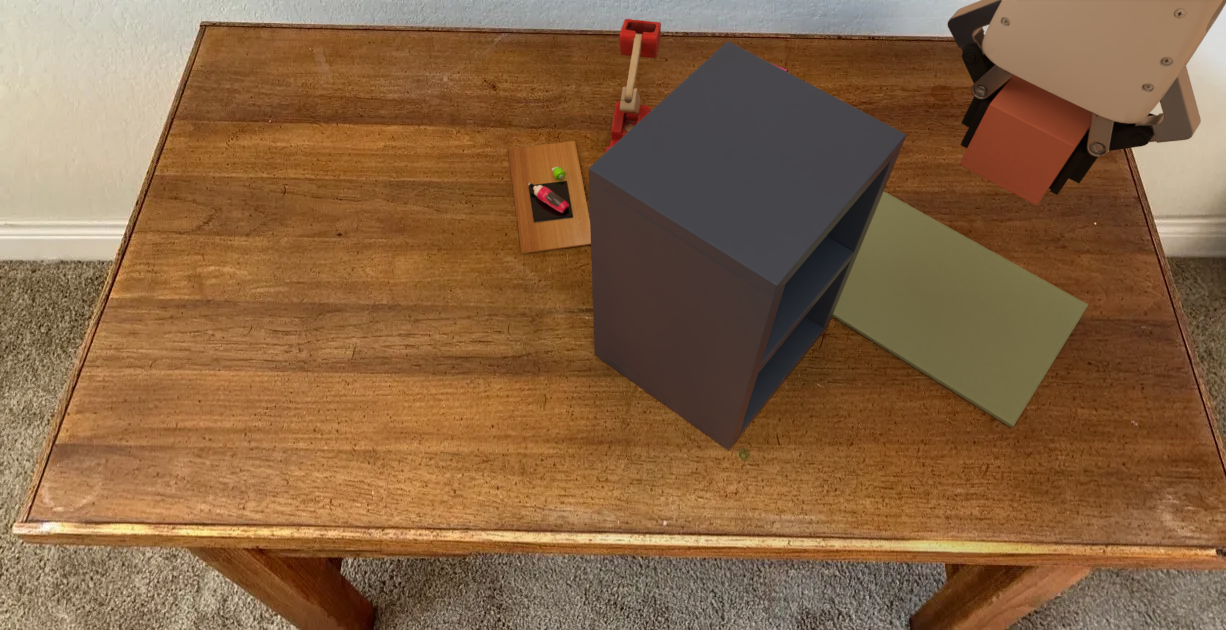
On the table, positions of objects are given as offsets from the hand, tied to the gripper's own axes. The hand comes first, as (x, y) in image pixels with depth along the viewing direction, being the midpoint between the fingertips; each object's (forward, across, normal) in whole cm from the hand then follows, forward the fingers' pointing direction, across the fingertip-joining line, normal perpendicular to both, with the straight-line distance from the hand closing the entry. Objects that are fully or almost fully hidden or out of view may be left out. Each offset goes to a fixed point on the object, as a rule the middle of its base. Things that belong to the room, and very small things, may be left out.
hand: (1018, 155), depth 57 cm
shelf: (+17, +12, +15) cm, 26 cm away
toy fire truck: (+17, +30, +3) cm, 35 cm away
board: (+17, +32, +12) cm, 38 cm away
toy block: (0, 0, 0) cm, 0 cm away
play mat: (+17, 0, 0) cm, 17 cm away
